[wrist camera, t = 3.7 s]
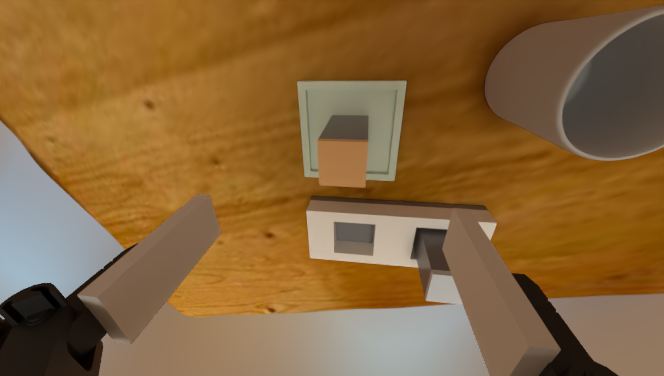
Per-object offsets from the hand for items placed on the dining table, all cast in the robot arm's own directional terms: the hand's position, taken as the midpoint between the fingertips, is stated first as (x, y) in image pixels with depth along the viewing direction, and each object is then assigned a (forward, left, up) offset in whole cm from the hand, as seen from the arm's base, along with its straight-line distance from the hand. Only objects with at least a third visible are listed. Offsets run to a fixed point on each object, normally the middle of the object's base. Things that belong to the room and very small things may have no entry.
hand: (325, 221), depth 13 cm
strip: (+13, +6, -17) cm, 22 cm away
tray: (0, 0, -17) cm, 17 cm away
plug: (0, 0, -17) cm, 17 cm away
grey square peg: (+13, +11, -16) cm, 24 cm away
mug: (-6, +19, -17) cm, 27 cm away
